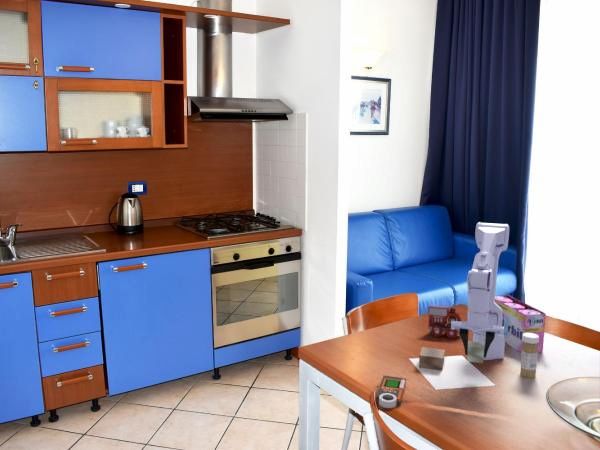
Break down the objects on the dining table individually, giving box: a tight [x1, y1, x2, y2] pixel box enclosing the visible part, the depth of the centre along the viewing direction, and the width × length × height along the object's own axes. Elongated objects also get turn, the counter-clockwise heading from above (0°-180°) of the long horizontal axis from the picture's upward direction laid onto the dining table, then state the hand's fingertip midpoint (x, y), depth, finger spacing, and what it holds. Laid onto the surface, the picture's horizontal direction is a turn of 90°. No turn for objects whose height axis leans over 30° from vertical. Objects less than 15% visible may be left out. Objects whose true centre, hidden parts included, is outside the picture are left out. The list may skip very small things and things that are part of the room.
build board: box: [408, 355, 496, 391], centre depth 169 cm, size 18×22×1 cm
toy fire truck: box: [427, 305, 463, 339], centre depth 201 cm, size 7×12×10 cm, turn 75°
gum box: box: [489, 294, 547, 353], centre depth 196 cm, size 24×8×14 cm, turn 12°
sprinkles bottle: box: [519, 333, 539, 379], centre depth 166 cm, size 5×5×13 cm
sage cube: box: [466, 340, 485, 364], centre depth 163 cm, size 4×4×4 cm
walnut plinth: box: [418, 346, 446, 371], centre depth 174 cm, size 7×7×4 cm
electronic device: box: [376, 375, 407, 409], centre depth 155 cm, size 7×3×15 cm
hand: (475, 354), depth 163 cm, fingers closed on sage cube, 4 cm apart
